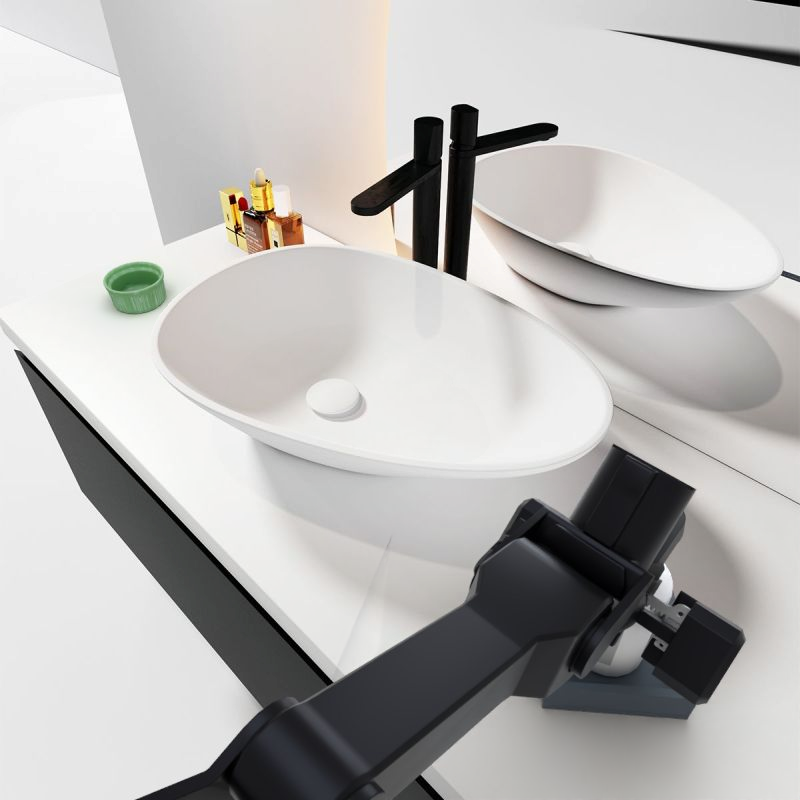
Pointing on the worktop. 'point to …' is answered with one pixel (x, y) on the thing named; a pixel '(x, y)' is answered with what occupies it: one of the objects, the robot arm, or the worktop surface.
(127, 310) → the ramekin
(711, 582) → the worktop surface
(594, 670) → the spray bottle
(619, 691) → the bin
